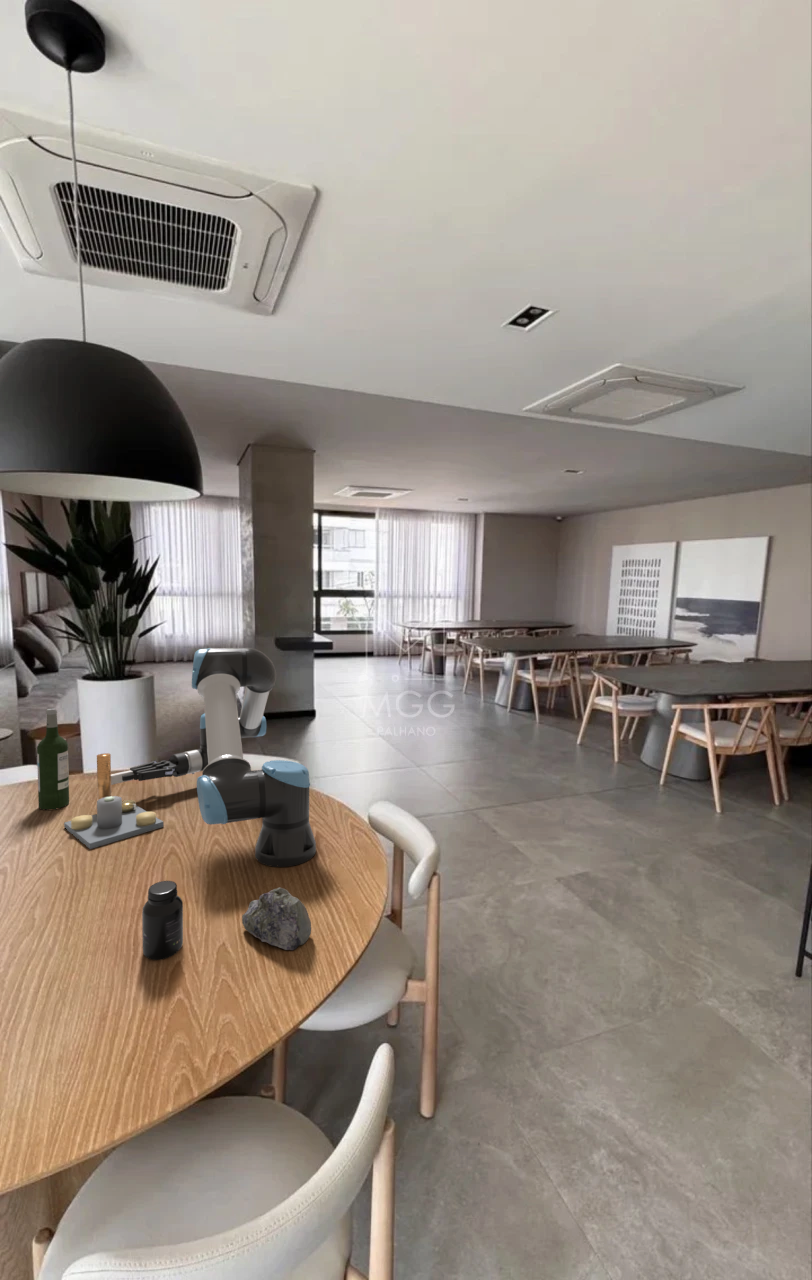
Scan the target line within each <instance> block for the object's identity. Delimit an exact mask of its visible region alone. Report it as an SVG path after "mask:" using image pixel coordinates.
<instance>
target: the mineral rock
mask: <svg viewBox="0 0 812 1280" xmlns="http://www.w3.org/2000/svg"><path fill="white" fill-rule="evenodd" d="M241 921H242V922H241V923H242V926H243V927H244V930H246V931H247V932H248V933H250V935H253V937H255V938H258V939H259V940H260V941H261V942H262V943H263V942H264V943H268V944H269V945H270V946H274V947H278V948H280V949H283V950H285V951H289V950H290V951H295V950H296V949H297V948H298V947H299V946H303V945H304V944H306V943H307V941H308V940H309V938H310V936H311V934H312V921H311V918H310V916H309V913H308V910H307V908H306V906H305V905H304V903H302V901H301V900H300V899H299V898H298V897H295V896H293V895H292V894H291V893H290V891H289V890H287V889H285V888H283V887H277V888H274V889H272V890H270V891H268V892H266V893H262V894H261V895H259V899H255V900H252V901H250V902H249V905H248V909H247V910H246V911H245V913H244V914H242V916H241ZM268 944H267V945H268Z"/></svg>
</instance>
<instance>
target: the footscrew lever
mask: <svg viewBox="0 0 812 1280" xmlns="http://www.w3.org/2000/svg"><path fill="white" fill-rule="evenodd" d="M111 756H112V755H111V753H109V752H108V753H105V752H104V753H100V754H99V753H98V754H97V755H96V782H97V783H96V784H97V785H96V787H97V801H98V800H99V799H101V798H104V797H110V796H112V785H111V774H112V769H111V768H112V767H111V766H112V763H111V762H112V761H111V758H112V757H111ZM136 805H137V802H136V800H134V799H124V800H122V812H129V811H133V810H136Z"/></svg>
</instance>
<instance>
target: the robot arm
mask: <svg viewBox="0 0 812 1280" xmlns="http://www.w3.org/2000/svg"><path fill="white" fill-rule="evenodd" d="M192 662H193V663H192V671H191V672H192V673H191V674H192V675H191V688H192V689H194V690H197V693H198V694H199V696H200V697H201V698H203V705H204V713H203V714H201V716H200V719H199V722H200V723H199V740H200V741H199V742H200V743H199V744H200V745H199V748H198V749H192V750H188V751H184V752H178V753H174V754H171V755H170V757H169V759H168V760H164V759H163V760H161V761H158V760H156V759H154V760H152V761H149V762H146V763H142V764H140V765H139V764H138V765H135V766H133V767H129V770H126V771H121V772H116V773H111V786H113V785H116V784H121V783H124V782H126V783H127V782H130V781H133V780H134V781H137V780H138V782H142V781H148V780H154V779H155V780H156V779H161V778H169V777H170V778H171V777H174V778H177V777H182V776H186V775H190V774H191V775H195V773H199V772H202V774H201V775H200V776H198V777H197V778H196V792H197V801H198V807H199V810H200V815H201V818H202V820H203V822H204V823H205V824H207V825H210V826H211V825H220V824H221V825H226V824H230V823H236V822H242V821H243V822H244V821H250V820H251V821H252V820H257V819H262V826H261V828H260V831H259V834H258V837H257V841H256V843H255V848H254V849H255V850H254V854H255V856H254V857H255V859H256V861H258V862H259V863H260V864H262V865H265V866H268V867H276V868H283V867H287V868H288V867H293V866H298V865H301V864H304V863H306V862H307V861H310V860H311V859H312V858H313V857H314V856H315V855H316V851H317V843H316V839H315V836H314V832H313V830H312V826H311V823H310V787H311V782H310V772H309V769H308V768H307V767H306V766H305V765H304V764H302V763H299V762H296V761H290V760H285V759H284V760H283V759H282V760H281V759H275V760H269V761H265V762H264V763H263V764H262V766H261V769H258V770H256V769H255V770H252V767H251V764H250V762H249V761H248V760H246V759H244V754H243V753H244V752H243V745H242V739H246V738H257V737H263V736H265V735H266V734H267V719H266V717H265V716H264V714H265V710H266V709H265V708H266V706H267V702H268V698H269V694H270V691H272V689H273V688H274V687H275V685H276V681H277V671H276V667H275V665H274V663H273V661H272V660H271V658H269V657H268V656H267V654H265V653H264V652H262V651H260V650H259V649H256V648H254V647H253V648H252V647H225V648H224V647H219V648H218V647H208V648H199V649H198V650H196V651H195V652H194V656H193V660H192ZM242 687H244V689H245V690H244V693H243V694H244V695H243V698H242V699H243V700H242V704H241V709H240V713H239V711H238V710H239V709H238V702H237V696H236V695H237V694H238V693H239V691H240V689H241V688H242ZM239 714H240V715H239ZM157 761H158V762H157Z"/></svg>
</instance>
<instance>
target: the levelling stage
mask: <svg viewBox="0 0 812 1280" xmlns="http://www.w3.org/2000/svg"><path fill="white" fill-rule="evenodd" d="M122 801H123V799H122V797H121V796H120V795H119V796H117V795H113V796H112V795H111V796H110V797H104V798H101V799H99V800H98V799H97V800H96V813H95V814H92V815H90V814H81V815H77V816H74V817H72V818H71V819H70V820H68V821H65V822H64V823H63V827H65V828H66V829H67V830H66V829H65V828H64V829H65V830H66V831H68V832H69V833H70V834H71V835H72V834H73V835H72V836H74V837H75V838H76V840H78V839H79V840H78V841H79V842H81V843H82V844H83V845H84V844H85V845H86V846H85V845H84V846H85V847H87V848H88V849H89V850H91V849H95V848H98V847H99V848H100V847H102V846H106V845H108V844H112V843H115V842H118V841H121V840H125V839H128V838H132V837H135V836H138V835H141V834H145V833H147V832H148V833H149V832H151V831H154V830H157V829H160V828H164V826H165V825H164V824H165V822H164V821H163V820H161V819H160V818H158V817H157V813H156V812H154V811H146V810H145V809H143V808H142V807H140V806H138V805H137V804H136V810H133V811H129V812H122Z"/></svg>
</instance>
